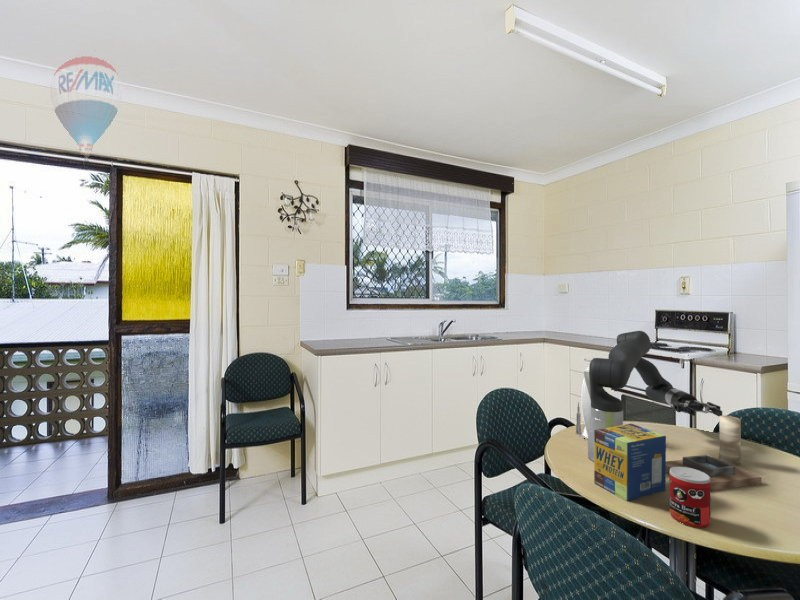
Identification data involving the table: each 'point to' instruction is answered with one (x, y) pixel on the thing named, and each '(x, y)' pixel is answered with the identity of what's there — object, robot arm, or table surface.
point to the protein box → (630, 461)
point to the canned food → (689, 496)
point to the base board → (717, 471)
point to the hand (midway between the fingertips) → (707, 413)
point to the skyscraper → (584, 407)
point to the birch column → (730, 439)
